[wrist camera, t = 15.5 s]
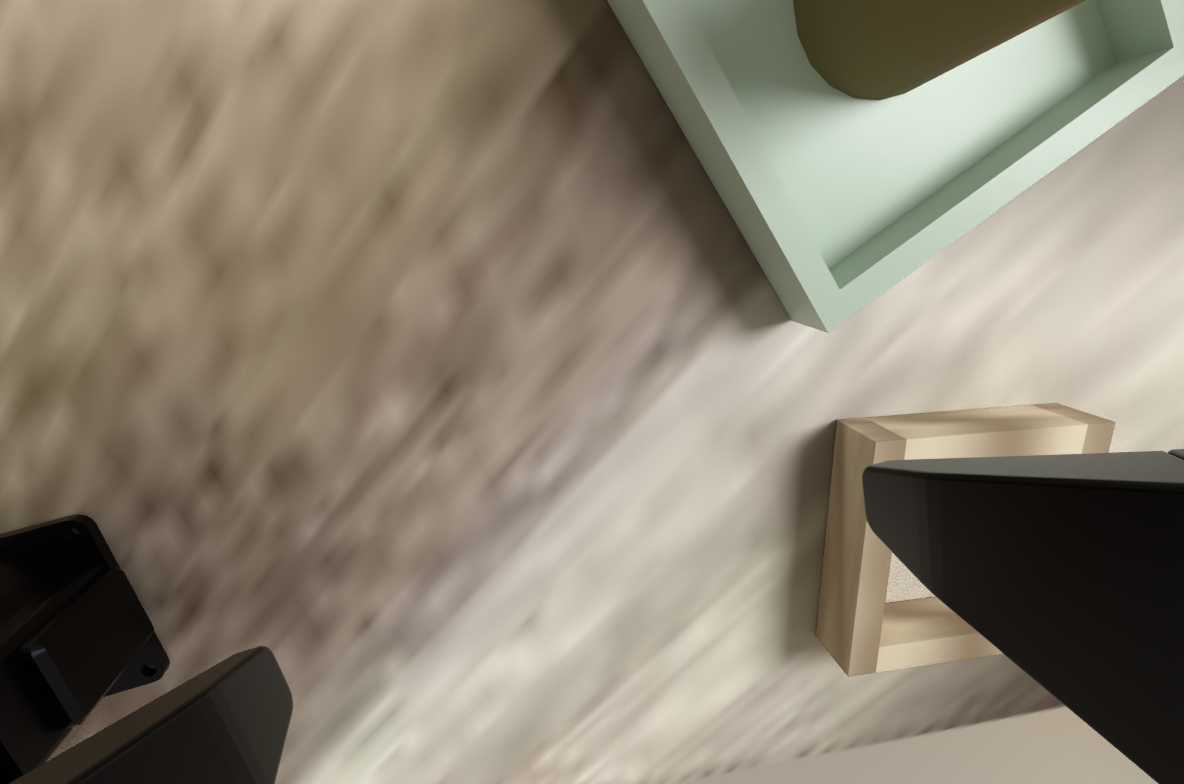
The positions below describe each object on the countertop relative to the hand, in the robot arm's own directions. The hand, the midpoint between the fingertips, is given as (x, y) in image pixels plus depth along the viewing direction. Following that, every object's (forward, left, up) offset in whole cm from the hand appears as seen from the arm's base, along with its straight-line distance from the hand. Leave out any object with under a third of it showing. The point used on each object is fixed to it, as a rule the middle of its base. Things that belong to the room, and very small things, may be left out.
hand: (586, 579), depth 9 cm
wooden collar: (+15, -11, -13) cm, 23 cm away
